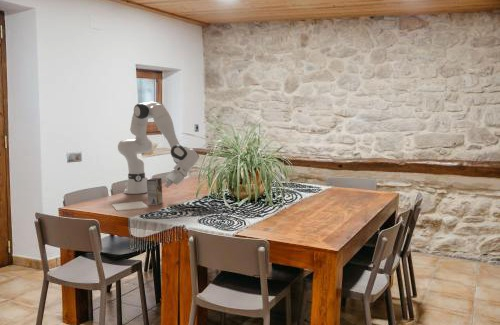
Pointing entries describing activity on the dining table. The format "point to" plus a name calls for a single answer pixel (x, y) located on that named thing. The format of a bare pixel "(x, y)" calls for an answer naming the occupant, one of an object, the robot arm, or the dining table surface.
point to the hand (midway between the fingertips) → (166, 186)
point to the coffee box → (154, 191)
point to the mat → (129, 206)
